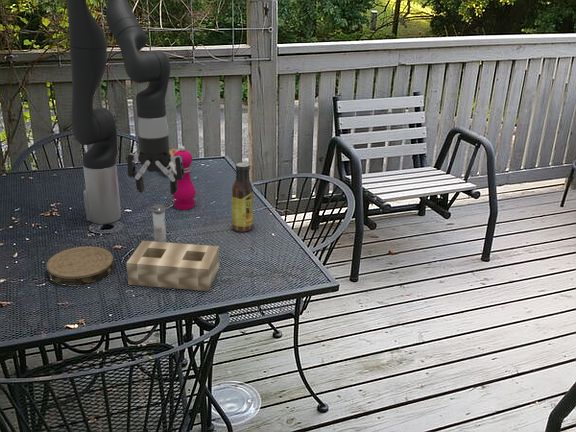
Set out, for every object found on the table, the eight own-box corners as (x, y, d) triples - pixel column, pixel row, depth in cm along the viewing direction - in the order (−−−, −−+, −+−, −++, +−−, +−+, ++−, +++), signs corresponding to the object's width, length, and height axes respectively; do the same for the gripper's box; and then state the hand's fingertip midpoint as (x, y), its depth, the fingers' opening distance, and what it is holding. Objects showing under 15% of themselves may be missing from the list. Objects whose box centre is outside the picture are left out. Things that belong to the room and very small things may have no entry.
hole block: (128, 284, 141) (126, 263, 139) (144, 260, 152) (142, 240, 150) (209, 291, 140) (208, 269, 137) (219, 266, 151) (218, 246, 148)
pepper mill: (168, 208, 184) (165, 147, 176) (180, 200, 190) (178, 141, 182) (188, 212, 182) (185, 151, 173) (200, 203, 188) (198, 144, 179)
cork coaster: (91, 250, 157) (89, 240, 156) (127, 270, 148) (126, 260, 147) (35, 272, 146) (33, 261, 145) (70, 294, 137) (69, 284, 136)
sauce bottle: (249, 233, 169) (250, 169, 161) (229, 231, 170) (228, 167, 162) (255, 224, 175) (256, 162, 167) (235, 222, 176) (235, 160, 168)
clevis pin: (150, 250, 158) (148, 210, 153) (155, 243, 162) (152, 204, 157) (166, 251, 157) (163, 211, 152) (170, 244, 161) (168, 205, 156)
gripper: (120, 135, 143) (126, 196, 150) (176, 138, 142) (180, 199, 149) (130, 127, 150) (136, 186, 157) (184, 130, 149) (187, 189, 156)
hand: (157, 192), depth 153 cm, fingers open, 8 cm apart
